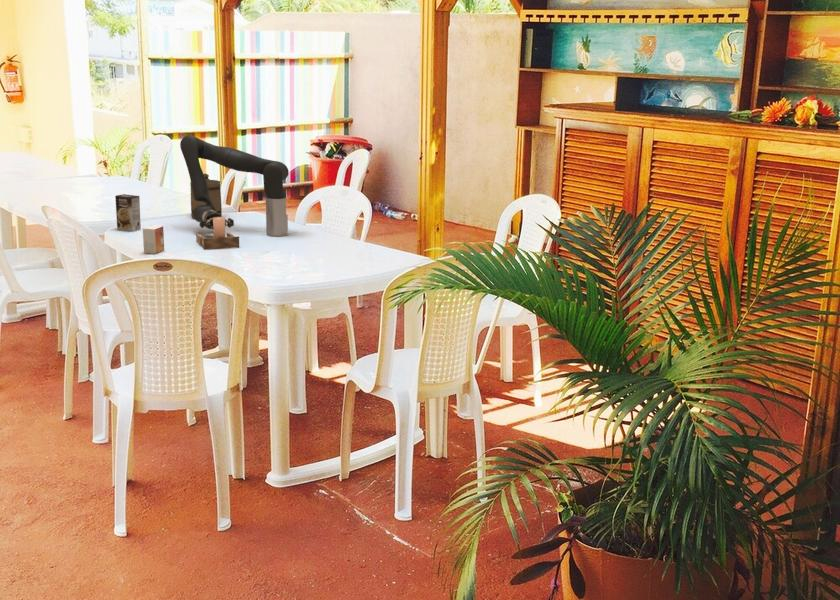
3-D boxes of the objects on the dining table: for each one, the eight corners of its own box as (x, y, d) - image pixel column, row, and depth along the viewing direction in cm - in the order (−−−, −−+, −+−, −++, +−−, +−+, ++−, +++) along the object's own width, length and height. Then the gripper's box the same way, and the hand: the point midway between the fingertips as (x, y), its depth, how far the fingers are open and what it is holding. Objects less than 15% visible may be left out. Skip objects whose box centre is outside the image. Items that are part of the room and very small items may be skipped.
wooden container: (210, 214, 484) (209, 170, 478) (227, 218, 474) (226, 174, 468) (185, 217, 474) (183, 173, 468) (202, 221, 464) (200, 176, 458)
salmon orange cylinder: (224, 243, 413) (223, 216, 410) (226, 246, 408) (226, 218, 405) (212, 244, 411) (211, 217, 408) (215, 246, 406) (214, 219, 403)
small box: (156, 254, 393) (154, 229, 390) (143, 253, 394) (142, 228, 391) (164, 250, 400) (163, 225, 398) (152, 249, 401) (151, 225, 399)
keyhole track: (230, 239, 425) (229, 229, 424) (239, 247, 409) (239, 236, 408) (196, 241, 419) (195, 231, 418) (204, 249, 403) (204, 239, 402)
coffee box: (116, 230, 438) (114, 195, 434) (125, 227, 444) (123, 193, 440) (132, 232, 435) (130, 197, 431) (141, 229, 441) (139, 195, 437)
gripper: (195, 211, 417) (203, 218, 403) (227, 210, 423) (236, 216, 408) (196, 228, 419) (203, 235, 405) (228, 226, 425) (236, 233, 410)
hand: (220, 226), depth 407 cm, fingers open, 8 cm apart
